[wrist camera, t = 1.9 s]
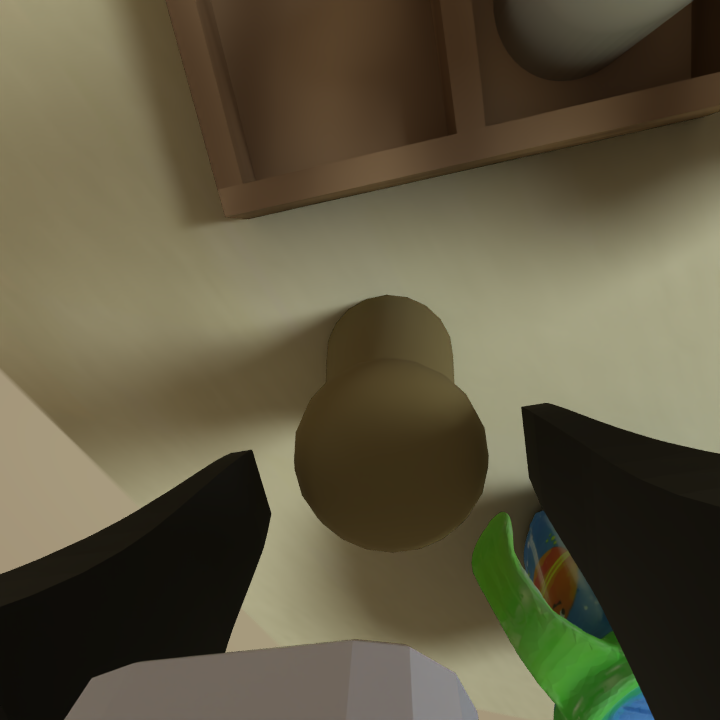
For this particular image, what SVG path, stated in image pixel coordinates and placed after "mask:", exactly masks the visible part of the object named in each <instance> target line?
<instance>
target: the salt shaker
mask: <svg viewBox="0 0 720 720" xmlns="http://www.w3.org/2000/svg"><path fill="white" fill-rule="evenodd" d="M692 1H693V0H493V5H494V17H495V23H496V27H497V31H498V34H499V37H500V39H501V41H502V44H503V46H504V47H505V49H506V51H507V52H508V54H509V55H510V56H511V57H512V59H513V60H514V61H515V62H516V63H517V64H518V65H519V66H520V67H521V68H523V69H524V70H526V71H527V72H529V73H530V74H533V75H535V76H537V77H539V78H543V79H546V80H552V81H570V80H576V79H580V78H583V77H587V76H589V75H591V74H594V73H596V72H598V71H600V70H601V69H603V68H604V67H606V66H608V65H609V64H610V63H612V62H613V61H614V60H615V59H617V58H618V57H619V56H621V55H622V54H623V53H625V52H626V51H627V50H629V49H630V48H631V47H633V46H634V45H635V44H637V43H638V42H639V41H641V40H642V39H643V38H645V37H646V36H647V35H649V34H650V33H651V32H652V31H654V30H655V29H656V28H658V27H659V26H660V25H662V24H663V23H664V22H666V21H667V20H668V19H670V18H671V17H672V16H674V15H675V14H676V13H678V12H679V11H680V10H682V9H683V8H684V7H686V6H687V5H688V4H689V3H691V2H692Z"/></svg>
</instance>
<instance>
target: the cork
mask: <svg viewBox="0 0 720 720" xmlns="http://www.w3.org/2000/svg"><path fill="white" fill-rule="evenodd" d="M488 457H489V455H488V449H487V442H486V435H485V429H484V426H483V424H482V423H481V421H480V419H479V417H478V415H477V413H476V411H475V410H474V408H473V406H472V404H471V402H470V400H469V399H468V397H467V395H466V394H465V393H464V392H463V391H462V390H461V389H460V388H459V387H458V386H456V385H455V384H454V366H453V353H452V346H451V340H450V336H449V334H448V332H447V330H446V329H445V327H444V325H443V323H442V321H441V319H440V318H439V317H437V316H436V315H435V314H434V313H433V312H432V311H431V310H430V309H429V308H428V307H427V306H425V305H423V304H421V303H419V302H417V301H414V300H412V299H410V298H408V297H400V296H391V295H384V296H379V297H375V298H370V299H366V300H364V301H363V302H361V303H359V304H357V305H355V306H354V307H352V308H350V309H349V310H348V311H347V312H346V313H345V314H344V315H343V316H342V318H341V319H340V320H339V321H338V322H337V323H336V325H335V327H334V329H333V332H332V334H331V336H330V339H329V341H328V350H327V366H326V383H325V385H324V386H323V387H322V388H321V389H320V390H319V391H318V392H317V393H316V394H315V395H314V396H313V397H312V398H311V400H310V402H309V404H308V406H307V408H306V410H305V413H304V415H303V417H302V420H301V422H300V424H299V426H298V429H297V431H296V438H295V454H294V466H295V472H296V476H297V479H298V483H299V486H300V490H301V493H302V496H303V497H304V499H305V500H306V502H307V503H308V505H309V506H310V507H311V509H312V510H313V512H314V513H315V515H316V516H317V518H318V519H319V520H320V521H321V522H322V523H323V524H324V525H325V526H326V527H328V528H329V529H330V530H331V531H333V532H334V533H335V534H337V535H338V536H339V537H340V538H342V539H343V540H346V541H348V542H350V543H353V544H355V545H358V546H360V547H363V548H365V549H369V550H377V551H384V552H392V553H394V552H401V551H408V550H416V549H420V548H423V547H425V546H427V545H430V544H432V543H434V542H437V541H439V540H441V539H443V538H445V537H446V536H447V535H448V534H449V533H451V532H452V531H453V530H454V529H455V528H456V527H458V526H459V525H460V524H461V523H462V522H463V521H464V520H465V519H466V518H467V517H468V516H469V514H470V512H471V511H472V509H473V508H474V506H475V504H476V503H477V501H478V500H479V498H480V496H481V495H482V493H483V488H484V483H485V479H486V474H487V469H488Z"/></svg>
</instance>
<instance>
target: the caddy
mask: <svg viewBox="0 0 720 720" xmlns="http://www.w3.org/2000/svg"><path fill="white" fill-rule="evenodd" d="M166 4H167V7H168V11H169V15H170V18H171V22H172V26H173V29H174V33H175V36H176V40H177V44H178V47H179V51H180V55H181V58H182V62H183V65H184V69H185V73H186V76H187V80H188V84H189V87H190V91H191V95H192V98H193V102H194V105H195V109H196V113H197V116H198V120H199V124H200V127H201V131H202V135H203V138H204V142H205V145H206V149H207V153H208V156H209V160H210V164H211V167H212V171H213V175H214V178H215V182H216V185H217V189H218V193H219V196H220V200H221V204H222V207H223V211H224V214H225V217H230V218H242V219H250V218H255V217H259V216H264V215H268V214H273V213H277V212H282V211H286V210H291V209H295V208H299V207H304V206H308V205H313V204H317V203H322V202H326V201H331V200H335V199H340V198H344V197H348V196H353V195H357V194H362V193H366V192H371V191H375V190H380V189H384V188H389V187H393V186H397V185H402V184H406V183H411V182H415V181H420V180H424V179H429V178H433V177H438V176H442V175H447V174H451V173H455V172H460V171H464V170H469V169H473V168H478V167H482V166H487V165H491V164H496V163H500V162H504V161H509V160H513V159H518V158H522V157H527V156H531V155H536V154H540V153H545V152H549V151H554V150H558V149H562V148H567V147H571V146H576V145H580V144H585V143H589V142H594V141H598V140H603V139H607V138H611V137H616V136H620V135H625V134H629V133H634V132H638V131H643V130H647V129H652V128H656V127H661V126H665V125H669V124H674V123H678V122H683V121H687V120H692V119H696V118H701V117H705V116H708V115H710V114H713V113H716V112H719V111H720V0H693V1H692V2H691V3H689V4H688V5H687V6H686V7H684V8H683V9H682V10H680V11H679V12H678V13H676V14H675V15H674V16H672V17H671V18H670V19H668V20H667V21H666V22H664V23H663V24H662V25H660V26H659V27H658V28H656V29H655V30H654V31H652V32H651V33H650V34H649V35H647V36H646V37H645V38H643V39H642V40H641V41H639V42H638V43H637V44H635V45H634V46H633V47H631V48H630V49H629V50H627V51H626V52H625V53H623V54H622V55H621V56H619V57H618V58H617V59H615V60H614V61H613V62H612V63H610V64H609V65H608V66H606V67H604V68H603V69H601V70H600V71H598V72H596V73H594V74H591V75H589V76H587V77H583V78H580V79H576V80H570V81H552V80H546V79H543V78H539V77H537V76H535V75H533V74H530V73H529V72H527V71H526V70H524V69H523V68H521V67H520V66H519V65H518V64H517V63H516V62H515V61H514V60H513V59H512V57H511V56H510V55H509V54H508V52H507V51H506V49H505V47H504V46H503V44H502V41H501V39H500V37H499V34H498V31H497V27H496V23H495V17H494V5H493V0H166Z"/></svg>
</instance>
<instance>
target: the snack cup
mask: <svg viewBox="0 0 720 720" xmlns="http://www.w3.org/2000/svg"><path fill="white" fill-rule="evenodd" d="M524 564H525V570H526V571H525V570H524V568H523V567H522V565H521V564H520V562H519V560H518V558H517V556H516V554H515V552H514V545H513V531H512V525H511V520H510V517H509V515H508V514H507V513H505V512H500V513H499V514H498V515H496V516H495V517H494V518H493V519H492V520H491V521H490V522H489V524H488V526H487V528H486V529H485V530H484V531H483V533H482V534H481V536H480V538H479V539H478V542H477V544H476V546H475V548H474V551H473V555H472V569H473V573H474V575H475V577H476V579H477V581H478V584H479V586H480V588H481V590H482V592H483V593H484V595H485V597H486V598H487V600H488V602H489V604H490V606H491V608H492V610H493V611H494V613H495V615H496V617H497V618H498V620H499V622H500V624H501V626H502V628H503V629H504V631H505V633H506V635H507V636H508V638H509V640H510V642H511V644H512V645H513V647H514V648H515V650H516V652H517V654H518V655H519V657H520V658H521V660H522V661H523V663H524V664H525V666H526V667H527V669H528V670H529V671H530V673H531V674H532V675H533V677H534V678H535V680H536V681H537V683H538V684H539V685H540V686H541V688H542V689H543V690H544V691H545V692H546V693H547V695H548V696H549V697H550V698H551V700H552V701H553V702H554V703H555V706H554V720H654V718H653V716H652V713H651V711H650V709H649V707H648V704H647V702H646V700H645V698H644V696H643V694H642V691H641V689H640V687H639V685H638V683H637V681H636V678H635V676H634V674H633V672H632V670H631V668H630V666H629V663H628V661H627V659H626V657H625V655H624V653H623V651H622V648H621V646H620V644H619V642H618V640H617V638H616V636H615V634H614V632H613V630H612V628H611V626H610V624H609V622H608V620H607V618H606V615H605V613H604V611H603V609H602V607H601V605H600V604H599V602H598V600H597V598H596V596H595V595H594V593H593V591H592V589H591V587H590V586H589V584H588V582H587V581H586V579H585V578H584V576H583V574H582V573H581V571H580V570H579V568H578V566H577V565H576V563H575V561H574V560H573V558H572V557H571V555H570V553H569V552H568V550H567V548H566V547H565V545H564V544H563V542H562V540H561V539H560V537H559V535H558V534H557V532H556V531H555V529H554V527H553V526H552V524H551V522H550V521H549V519H548V517H547V516H546V514H545V512H544V511H543V510H542V511H541V512H537V513H535V516H534V518H533V520H532V522H531V524H530V530H529V532H528V535H527V538H526V543H525V548H524Z"/></svg>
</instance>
